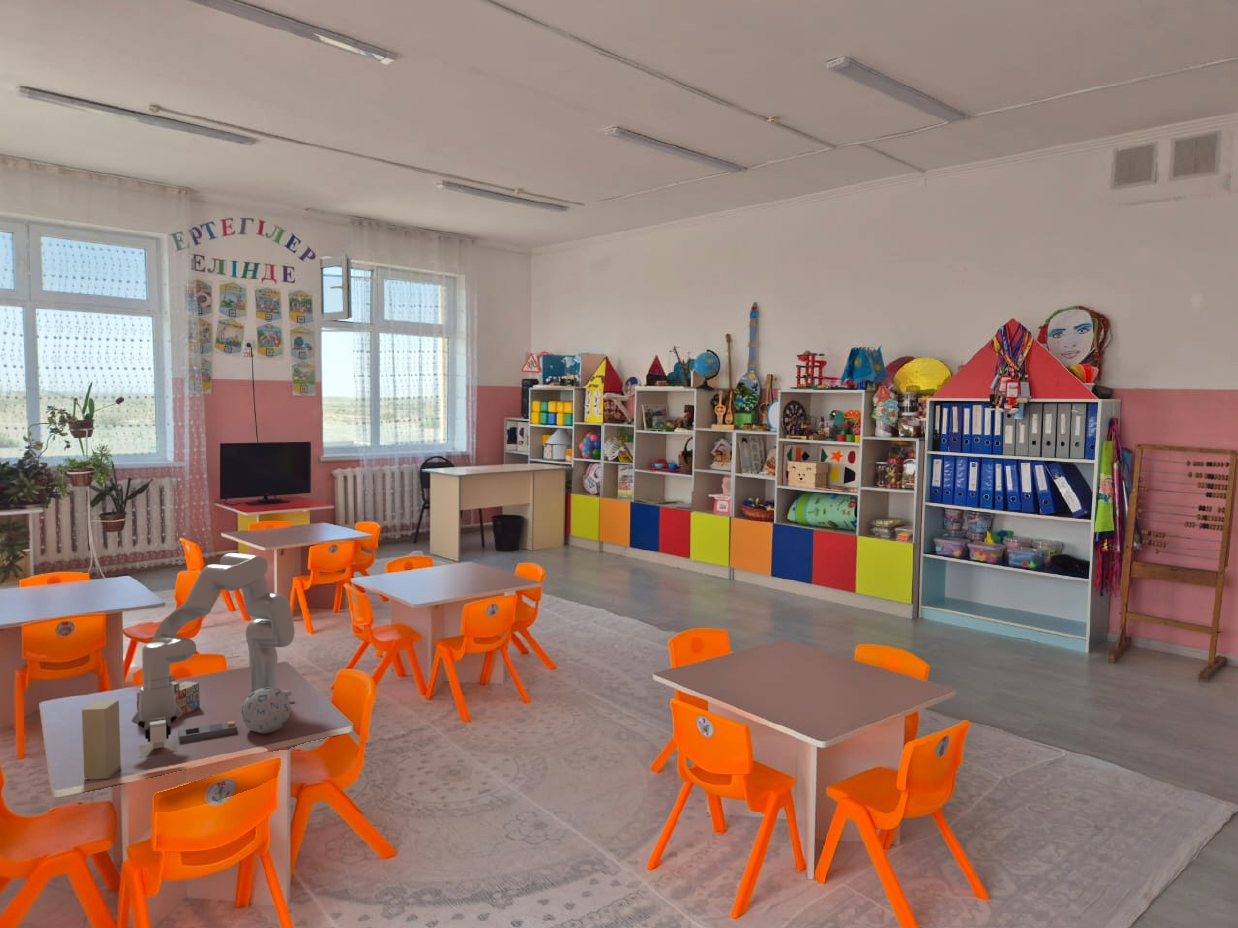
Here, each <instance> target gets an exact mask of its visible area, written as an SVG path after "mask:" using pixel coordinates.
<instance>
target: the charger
mask: <svg viewBox="0 0 1238 928" xmlns="http://www.w3.org/2000/svg"><path fill="white" fill-rule="evenodd" d="M149 727H150V742H149V744H153V749H155V748H161V747H164V742H167V739H166V721H165V720H161V721H155V722H150V725H149Z"/></svg>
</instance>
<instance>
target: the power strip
mask: <svg viewBox="0 0 1238 928" xmlns="http://www.w3.org/2000/svg"><path fill="white" fill-rule="evenodd" d="M236 723H237V722H236V720H231V721H227V722H220V723H214V724H209V725H202V726H197V727H190V728H184V729H178V730H177V733H178V734H177V735H178V743H187V742H192V741H197V740H205V739H210V738H215V737H221V736H227V735H233V734H238V725H237V724H236Z"/></svg>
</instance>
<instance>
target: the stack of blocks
mask: <svg viewBox="0 0 1238 928" xmlns="http://www.w3.org/2000/svg"><path fill="white" fill-rule="evenodd" d="M170 683H173V686H174V692H175V703H176V705H177V706H178V707H179V708H180V709H181V710H182V711H183V714H182V715H181V716H183V715H186V714H189V713H190V712H192V711H194V710H197V709H199V708H200V684H199V682H196V681H195V682H193V681H186V680H185V681H183V682H177V681H171V682H170ZM139 694H140V690H139V691H137V692H136V699H137V700H136V709H137V710H136V711H138V710H139ZM176 713H177V712H175V714H176ZM171 717H172V716H171ZM171 717H170V718H171ZM138 719H139V720H140V718H138ZM161 720H165V721H166V718H160V719H153V720H150V722H155V721H161ZM142 721H143V720H142ZM143 722H145V721H143ZM149 726H150V723H149Z"/></svg>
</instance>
